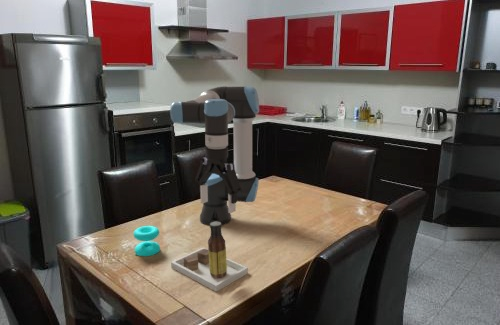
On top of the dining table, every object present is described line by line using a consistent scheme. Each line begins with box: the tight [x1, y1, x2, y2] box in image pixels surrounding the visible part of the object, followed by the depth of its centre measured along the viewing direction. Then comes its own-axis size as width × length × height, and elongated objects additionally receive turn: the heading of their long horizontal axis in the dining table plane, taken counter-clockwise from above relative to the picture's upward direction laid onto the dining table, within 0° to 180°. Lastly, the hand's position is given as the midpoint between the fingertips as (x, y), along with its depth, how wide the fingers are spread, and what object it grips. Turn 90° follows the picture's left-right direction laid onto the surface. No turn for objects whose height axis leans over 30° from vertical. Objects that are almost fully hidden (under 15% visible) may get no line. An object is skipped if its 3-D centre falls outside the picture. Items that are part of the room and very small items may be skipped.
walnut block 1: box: [184, 255, 198, 271], centre depth 144 cm, size 4×4×4 cm
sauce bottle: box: [207, 221, 227, 278], centre depth 138 cm, size 7×6×20 cm
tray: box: [170, 246, 249, 293], centre depth 143 cm, size 24×16×3 cm, turn 49°
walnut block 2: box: [197, 248, 209, 265], centre depth 149 cm, size 4×4×4 cm
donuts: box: [133, 225, 161, 257], centre depth 157 cm, size 10×10×10 cm
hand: (217, 207), depth 134 cm, fingers open, 13 cm apart
